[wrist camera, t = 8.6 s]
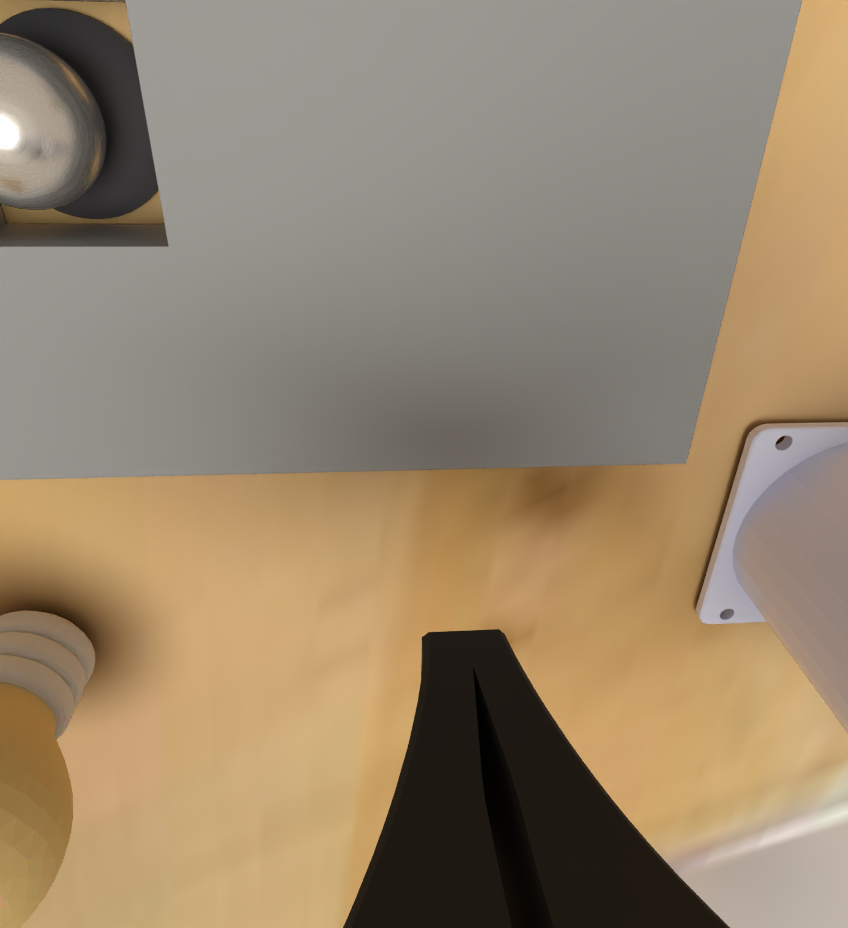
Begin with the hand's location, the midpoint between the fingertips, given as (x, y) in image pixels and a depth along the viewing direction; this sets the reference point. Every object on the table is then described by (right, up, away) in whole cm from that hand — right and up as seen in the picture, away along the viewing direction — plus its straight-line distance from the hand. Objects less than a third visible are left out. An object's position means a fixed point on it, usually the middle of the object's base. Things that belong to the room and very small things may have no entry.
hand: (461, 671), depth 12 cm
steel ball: (-9, +11, +2) cm, 14 cm away
